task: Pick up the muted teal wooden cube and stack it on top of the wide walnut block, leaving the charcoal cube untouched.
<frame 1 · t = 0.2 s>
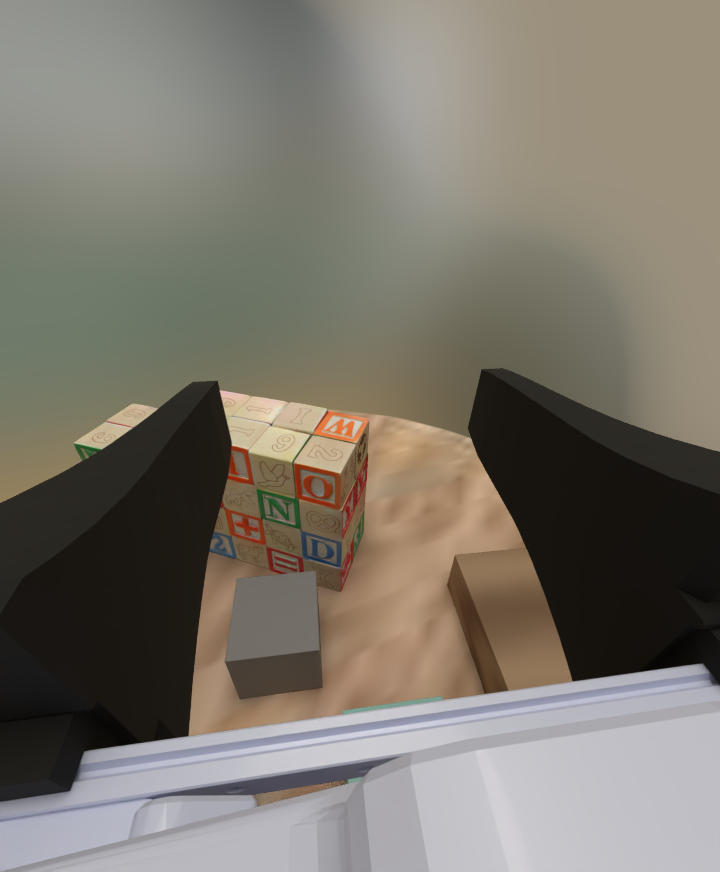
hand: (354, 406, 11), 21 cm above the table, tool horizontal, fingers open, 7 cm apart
teal cube: (395, 796, 20), on the table
walnut block: (528, 637, 27), on the table
stack of blocks: (240, 530, 34), on the table
charcoal cube: (283, 652, 26), on the table
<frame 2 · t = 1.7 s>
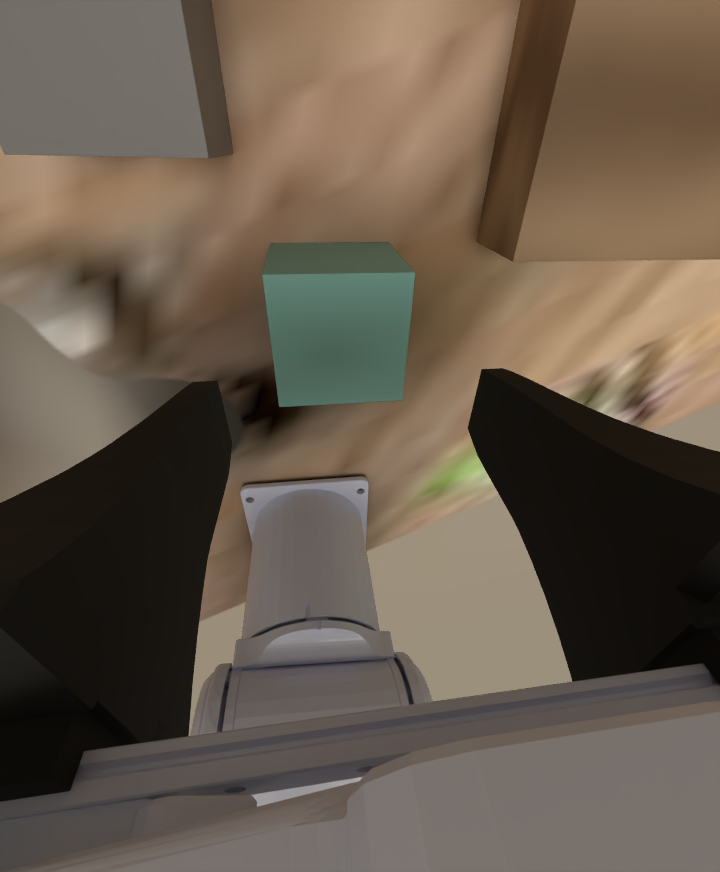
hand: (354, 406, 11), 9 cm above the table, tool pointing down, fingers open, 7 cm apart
teal cube: (331, 301, 18), on the table
walnut block: (606, 113, 15), on the table
charcoal cube: (140, 56, 12), on the table
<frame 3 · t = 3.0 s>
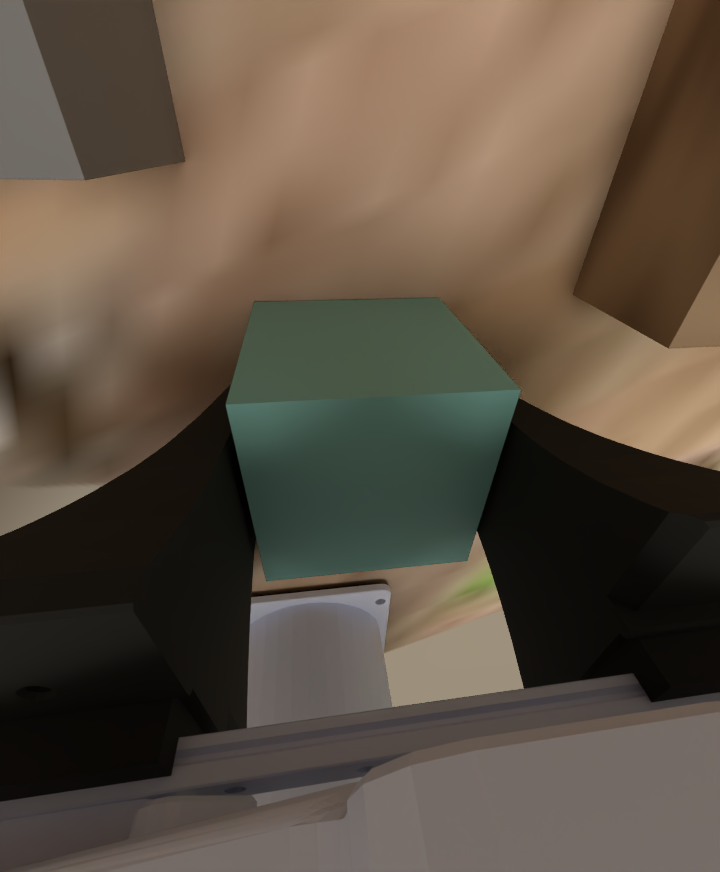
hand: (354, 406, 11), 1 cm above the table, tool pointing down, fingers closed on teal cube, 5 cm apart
teal cube: (348, 381, 12), on the table, touching gripper
when the fingers open (7 cm above the table, at t = 6.0 s): teal cube drops 1 cm, resting on walnut block.
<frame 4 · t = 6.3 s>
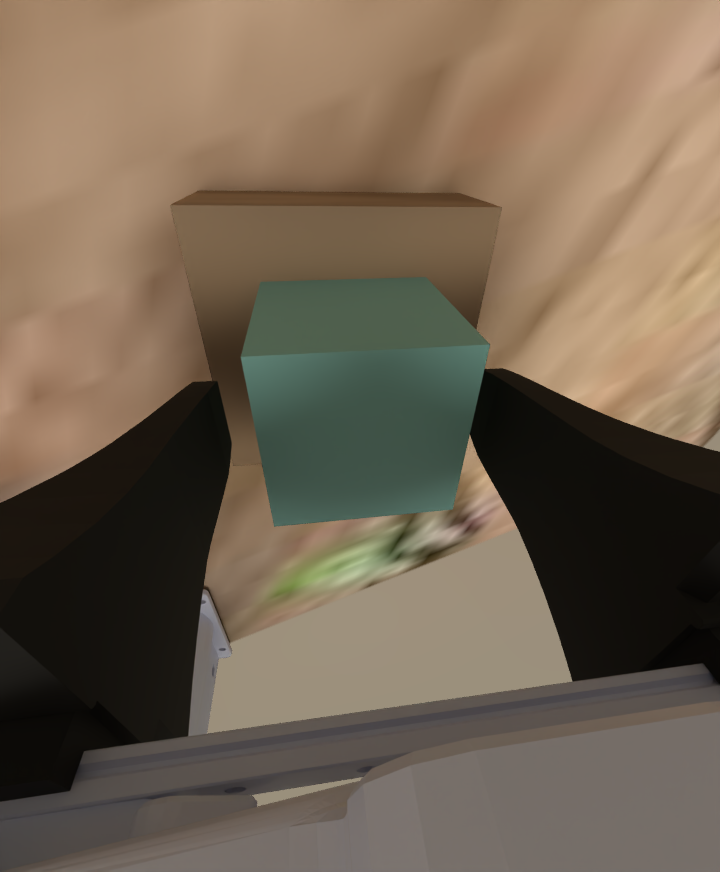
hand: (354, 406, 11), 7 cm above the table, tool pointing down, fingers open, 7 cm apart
teal cube: (346, 355, 13), point 4 cm above the table, touching walnut block
walnut block: (335, 316, 16), on the table, touching teal cube
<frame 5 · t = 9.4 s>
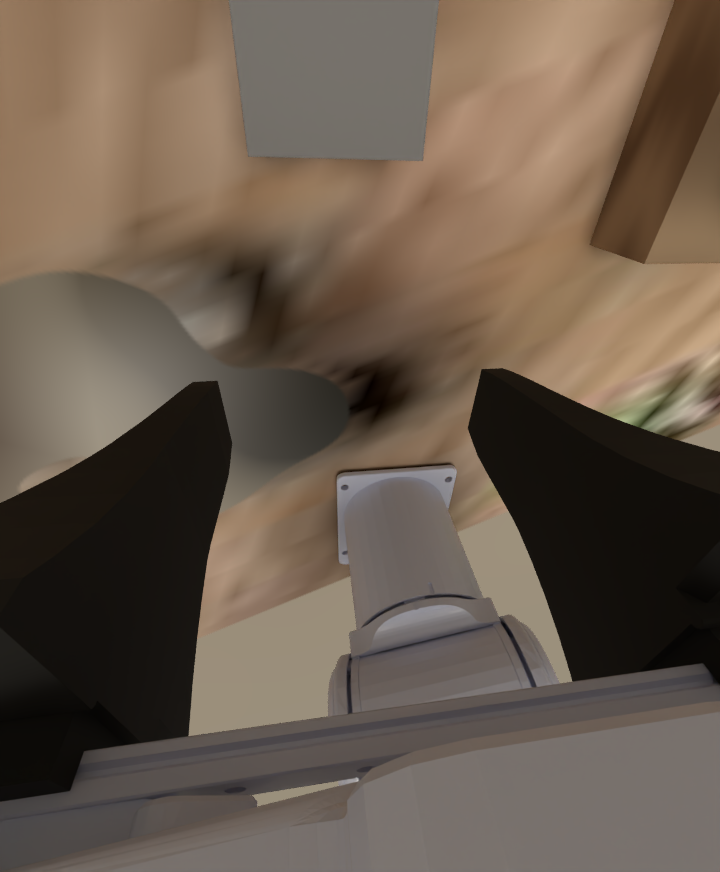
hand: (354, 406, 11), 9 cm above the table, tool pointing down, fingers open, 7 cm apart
charcoal cube: (325, 64, 13), on the table
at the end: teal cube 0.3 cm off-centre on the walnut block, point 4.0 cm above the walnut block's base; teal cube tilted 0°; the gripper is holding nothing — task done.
